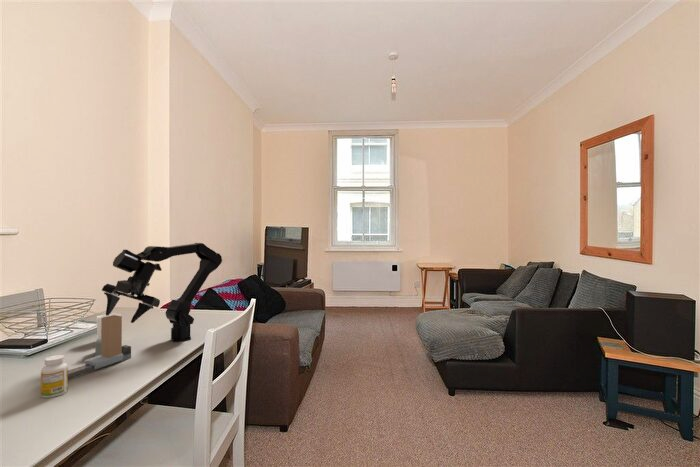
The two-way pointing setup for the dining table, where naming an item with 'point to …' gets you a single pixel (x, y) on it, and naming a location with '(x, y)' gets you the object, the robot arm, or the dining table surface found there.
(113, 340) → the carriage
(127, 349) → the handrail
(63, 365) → the supplement bottle
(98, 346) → the gauge cabinet
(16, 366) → the dining table surface
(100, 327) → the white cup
